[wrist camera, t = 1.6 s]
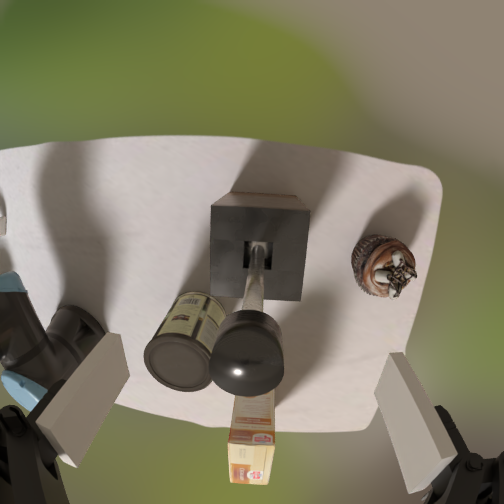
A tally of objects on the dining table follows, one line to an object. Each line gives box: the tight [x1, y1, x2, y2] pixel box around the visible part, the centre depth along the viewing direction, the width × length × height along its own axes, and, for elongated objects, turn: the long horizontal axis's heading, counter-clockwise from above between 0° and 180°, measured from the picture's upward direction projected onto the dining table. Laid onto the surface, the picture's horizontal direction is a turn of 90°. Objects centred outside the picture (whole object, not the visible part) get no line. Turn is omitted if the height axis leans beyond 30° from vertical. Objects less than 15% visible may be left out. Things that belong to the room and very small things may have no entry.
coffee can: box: [144, 292, 226, 392], centre depth 43 cm, size 10×10×14 cm
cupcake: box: [351, 235, 417, 300], centre depth 40 cm, size 10×10×10 cm
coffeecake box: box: [228, 388, 275, 485], centre depth 45 cm, size 15×7×20 cm, turn 178°
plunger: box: [208, 241, 284, 397], centre depth 23 cm, size 7×7×20 cm
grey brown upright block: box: [210, 192, 310, 301], centre depth 37 cm, size 10×10×15 cm
